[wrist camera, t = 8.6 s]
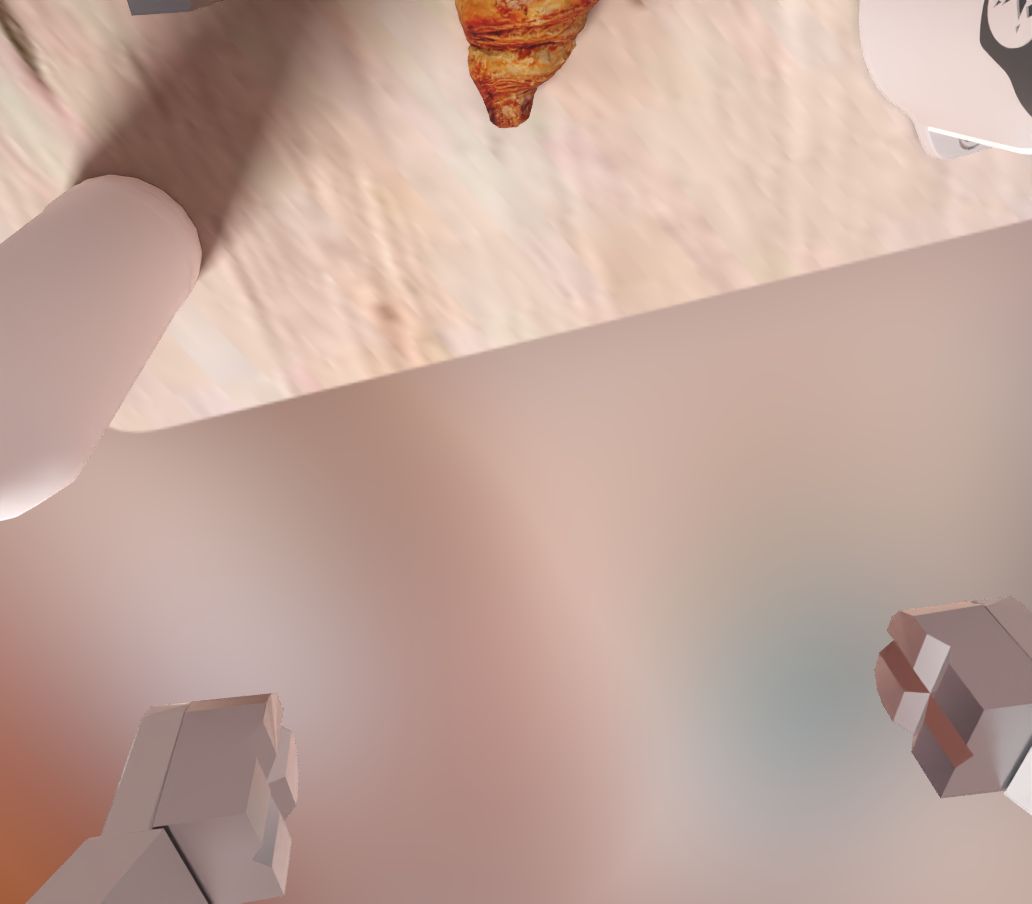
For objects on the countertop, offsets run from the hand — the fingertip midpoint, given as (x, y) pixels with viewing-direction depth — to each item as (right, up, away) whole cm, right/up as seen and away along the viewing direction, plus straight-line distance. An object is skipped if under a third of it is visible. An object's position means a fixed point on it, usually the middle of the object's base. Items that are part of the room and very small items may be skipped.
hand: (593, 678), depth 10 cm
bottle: (-23, +15, +34) cm, 44 cm away
